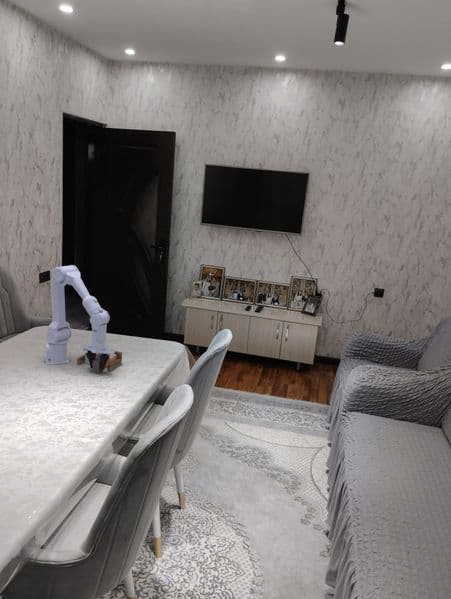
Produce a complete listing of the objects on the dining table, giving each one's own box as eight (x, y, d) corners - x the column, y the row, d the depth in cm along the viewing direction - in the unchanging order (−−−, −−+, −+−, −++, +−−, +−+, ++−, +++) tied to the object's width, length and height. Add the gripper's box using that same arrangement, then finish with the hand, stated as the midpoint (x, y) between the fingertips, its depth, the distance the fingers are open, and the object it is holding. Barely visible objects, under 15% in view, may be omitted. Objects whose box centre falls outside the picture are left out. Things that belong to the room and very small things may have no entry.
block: (84, 363, 209) (85, 353, 208) (90, 360, 214) (91, 349, 213) (94, 365, 208) (94, 355, 207) (100, 362, 212) (100, 351, 211)
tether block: (90, 372, 200) (90, 360, 199) (106, 362, 212) (106, 351, 211) (100, 374, 199) (101, 362, 197) (115, 365, 211) (116, 353, 210)
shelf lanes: (77, 364, 207) (77, 351, 205) (89, 357, 216) (90, 345, 215) (109, 371, 202) (110, 358, 201) (121, 364, 212) (122, 352, 211)
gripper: (78, 338, 196) (77, 368, 198) (109, 344, 192) (107, 375, 195) (88, 334, 202) (86, 363, 205) (117, 340, 198) (115, 369, 201)
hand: (97, 368), depth 200 cm, fingers open, 4 cm apart
